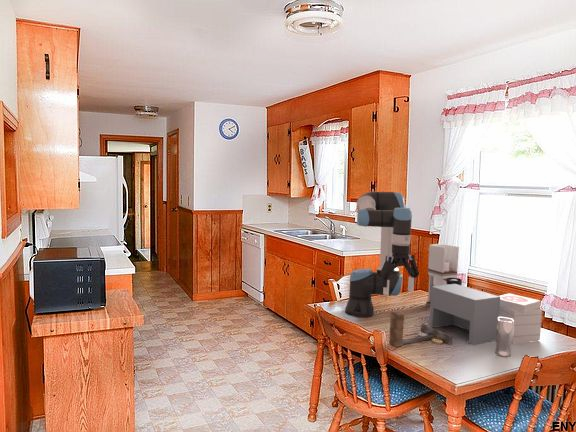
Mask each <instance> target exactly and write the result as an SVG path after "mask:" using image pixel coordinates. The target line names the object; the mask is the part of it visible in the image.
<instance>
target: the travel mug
mask: <svg viewBox="0 0 576 432" xmlns="http://www.w3.org/2000/svg"><path fill="white" fill-rule="evenodd" d="M449 284H458V285H461V286H463V280H462V279H461V278H458V277H457V278H447V283H446V285H449Z"/></svg>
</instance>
